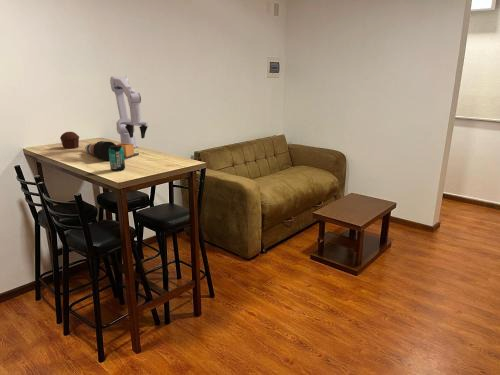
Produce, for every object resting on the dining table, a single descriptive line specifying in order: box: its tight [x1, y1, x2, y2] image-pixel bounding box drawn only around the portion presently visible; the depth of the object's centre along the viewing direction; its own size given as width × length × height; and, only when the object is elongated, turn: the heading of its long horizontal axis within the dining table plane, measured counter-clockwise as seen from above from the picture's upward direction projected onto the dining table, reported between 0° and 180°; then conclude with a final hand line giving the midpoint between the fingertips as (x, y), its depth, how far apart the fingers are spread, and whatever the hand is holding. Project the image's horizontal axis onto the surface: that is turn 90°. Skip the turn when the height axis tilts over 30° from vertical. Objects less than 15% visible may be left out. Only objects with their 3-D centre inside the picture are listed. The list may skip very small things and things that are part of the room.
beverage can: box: [109, 144, 126, 172], centre depth 196 cm, size 7×7×12 cm
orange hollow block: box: [116, 142, 135, 157], centre depth 226 cm, size 8×8×6 cm
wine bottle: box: [84, 140, 117, 161], centre depth 227 cm, size 10×34×10 cm, turn 39°
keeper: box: [124, 152, 139, 160], centre depth 227 cm, size 14×11×4 cm
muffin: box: [59, 131, 80, 150], centre depth 251 cm, size 12×11×10 cm
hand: (137, 137), depth 233 cm, fingers open, 7 cm apart
